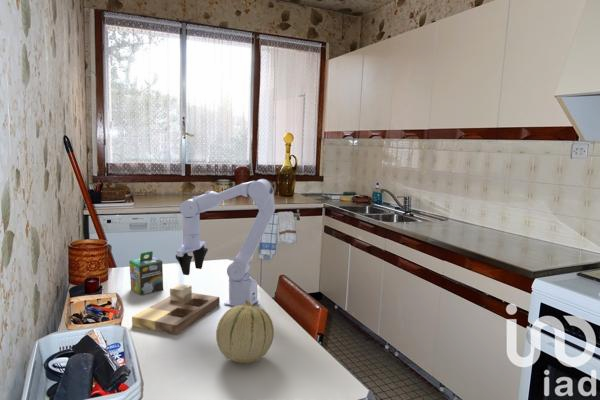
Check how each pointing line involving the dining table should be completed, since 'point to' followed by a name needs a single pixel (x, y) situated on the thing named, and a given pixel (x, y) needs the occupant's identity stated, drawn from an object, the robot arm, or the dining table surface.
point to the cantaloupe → (245, 333)
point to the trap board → (175, 313)
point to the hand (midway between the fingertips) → (192, 271)
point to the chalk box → (146, 274)
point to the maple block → (180, 292)
